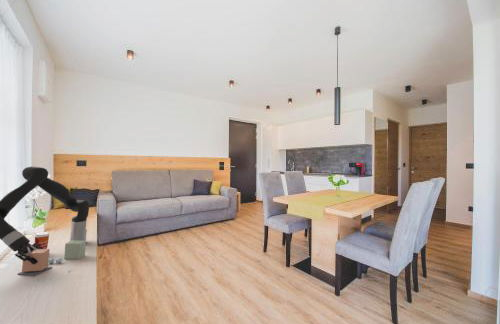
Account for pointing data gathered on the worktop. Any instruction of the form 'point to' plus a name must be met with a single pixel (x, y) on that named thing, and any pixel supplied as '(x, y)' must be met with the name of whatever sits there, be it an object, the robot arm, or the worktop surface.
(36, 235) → the paper cup
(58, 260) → the marble
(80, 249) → the sage green block
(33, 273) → the felt coaster
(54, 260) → the marble
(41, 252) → the salmon orange block
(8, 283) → the worktop surface
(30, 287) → the worktop surface
